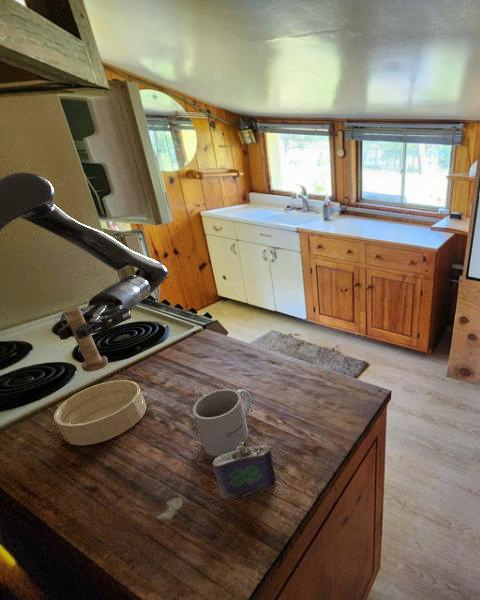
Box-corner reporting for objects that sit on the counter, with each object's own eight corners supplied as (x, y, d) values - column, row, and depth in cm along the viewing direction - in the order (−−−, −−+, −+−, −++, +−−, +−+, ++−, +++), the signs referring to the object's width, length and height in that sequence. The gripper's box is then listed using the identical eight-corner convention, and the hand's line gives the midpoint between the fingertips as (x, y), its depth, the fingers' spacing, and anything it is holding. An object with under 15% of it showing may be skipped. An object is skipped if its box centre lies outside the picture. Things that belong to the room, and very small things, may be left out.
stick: (78, 372, 72) (51, 314, 66) (91, 361, 76) (66, 305, 70) (101, 370, 73) (76, 313, 67) (112, 359, 77) (90, 304, 71)
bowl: (47, 451, 65) (34, 430, 63) (92, 403, 77) (82, 383, 75) (127, 442, 68) (117, 421, 65) (158, 396, 80) (151, 377, 78)
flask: (220, 502, 57) (208, 460, 53) (223, 488, 60) (211, 446, 55) (276, 487, 60) (269, 446, 56) (276, 474, 63) (269, 433, 58)
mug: (221, 462, 64) (211, 425, 60) (194, 445, 68) (183, 409, 64) (270, 421, 74) (264, 387, 70) (244, 408, 78) (237, 374, 74)
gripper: (80, 288, 80) (21, 321, 65) (144, 286, 83) (102, 317, 68) (91, 315, 83) (37, 353, 68) (152, 312, 86) (114, 348, 71)
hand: (70, 335), depth 68 cm, fingers closed on stick, 2 cm apart
